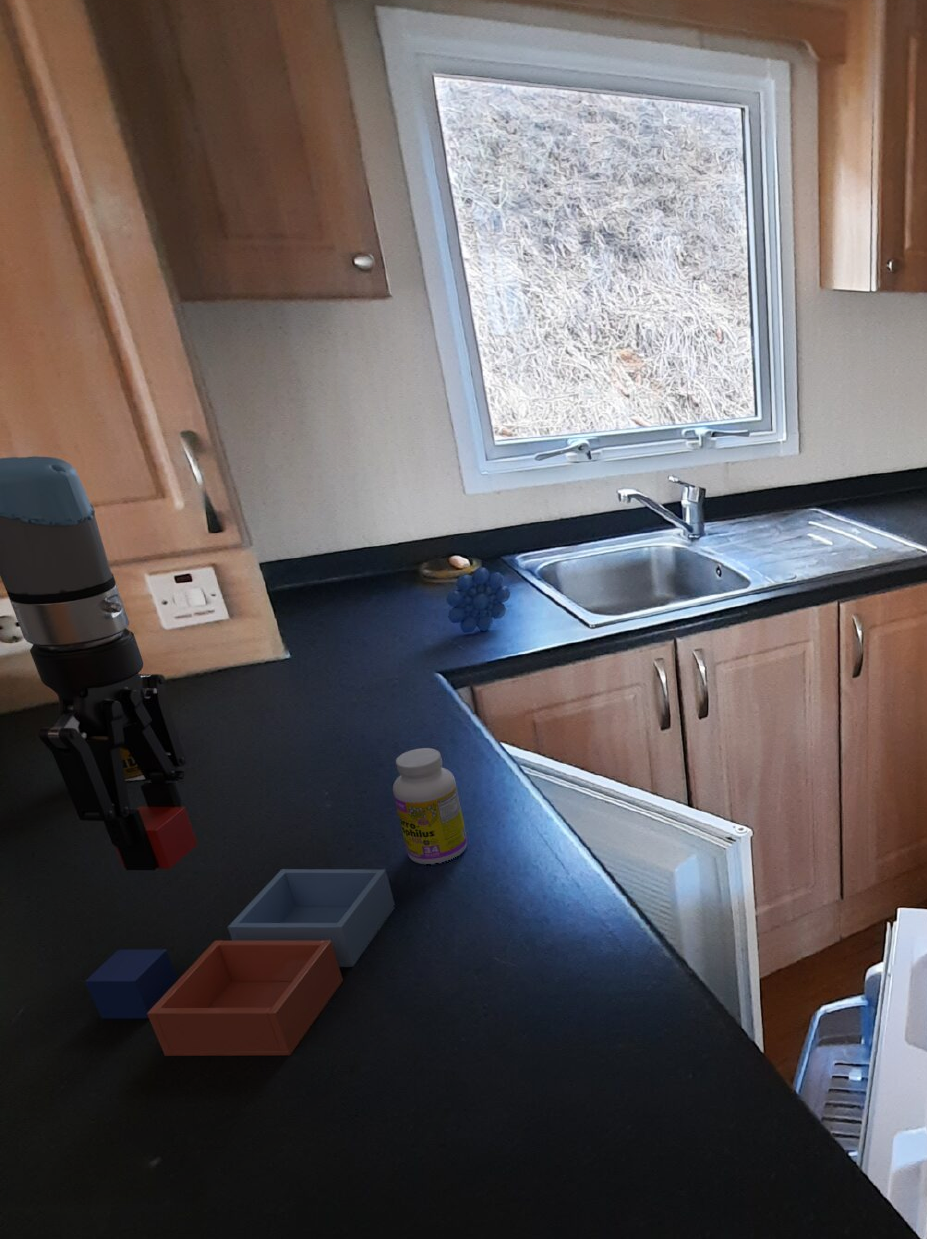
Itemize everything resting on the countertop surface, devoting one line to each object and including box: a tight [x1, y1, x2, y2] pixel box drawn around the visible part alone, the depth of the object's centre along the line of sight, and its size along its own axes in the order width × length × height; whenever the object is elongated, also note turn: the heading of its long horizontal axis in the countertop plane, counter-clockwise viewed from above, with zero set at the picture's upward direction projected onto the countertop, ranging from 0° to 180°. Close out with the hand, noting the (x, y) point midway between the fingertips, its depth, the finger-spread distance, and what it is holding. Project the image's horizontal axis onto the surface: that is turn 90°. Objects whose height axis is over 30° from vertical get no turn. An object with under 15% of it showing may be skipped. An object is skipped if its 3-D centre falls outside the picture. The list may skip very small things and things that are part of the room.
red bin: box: [147, 939, 344, 1057], centre depth 90 cm, size 11×10×5 cm
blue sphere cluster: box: [446, 567, 511, 633], centre depth 180 cm, size 12×7×12 cm, turn 128°
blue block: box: [84, 949, 179, 1019], centre depth 91 cm, size 4×4×4 cm
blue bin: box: [227, 868, 396, 968], centre depth 100 cm, size 11×10×5 cm
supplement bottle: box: [392, 747, 468, 866], centre depth 113 cm, size 7×7×13 cm
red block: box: [115, 806, 198, 870], centre depth 97 cm, size 4×4×4 cm
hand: (159, 853), depth 98 cm, fingers closed on red block, 4 cm apart
